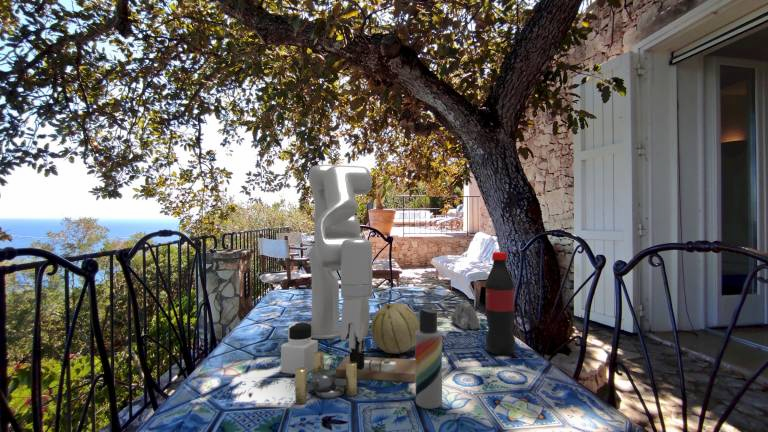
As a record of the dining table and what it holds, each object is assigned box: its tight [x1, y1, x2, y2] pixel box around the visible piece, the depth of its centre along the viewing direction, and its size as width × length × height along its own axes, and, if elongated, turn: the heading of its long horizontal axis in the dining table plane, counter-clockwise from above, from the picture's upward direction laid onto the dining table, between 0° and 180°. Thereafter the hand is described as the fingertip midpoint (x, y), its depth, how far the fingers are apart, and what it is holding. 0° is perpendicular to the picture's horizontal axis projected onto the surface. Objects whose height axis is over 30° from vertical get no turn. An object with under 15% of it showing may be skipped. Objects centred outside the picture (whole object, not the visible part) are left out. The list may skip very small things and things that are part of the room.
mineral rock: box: [451, 299, 480, 330], centre depth 148 cm, size 13×11×10 cm
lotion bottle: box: [414, 308, 443, 410], centre depth 84 cm, size 6×6×20 cm
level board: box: [335, 355, 415, 383], centre depth 102 cm, size 20×10×5 cm, turn 80°
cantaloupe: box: [370, 302, 420, 355], centre depth 118 cm, size 15×15×15 cm
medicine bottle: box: [280, 322, 319, 375], centre depth 104 cm, size 7×7×12 cm
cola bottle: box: [484, 251, 516, 356], centre depth 117 cm, size 8×8×30 cm
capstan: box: [294, 350, 358, 405], centre depth 89 cm, size 12×14×7 cm
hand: (357, 368), depth 93 cm, fingers closed
